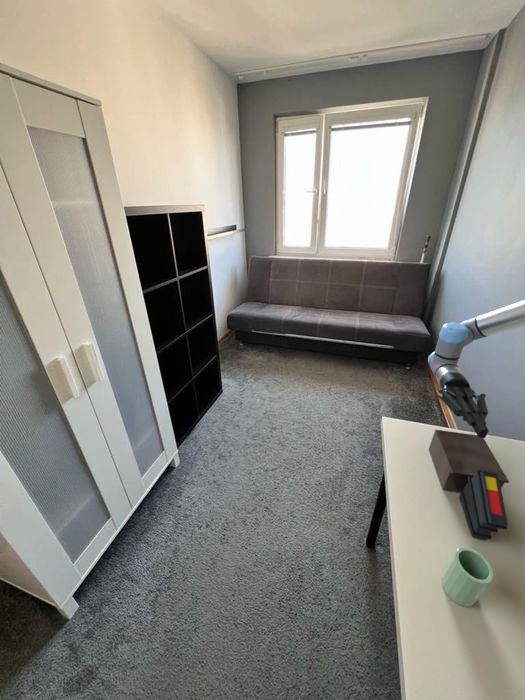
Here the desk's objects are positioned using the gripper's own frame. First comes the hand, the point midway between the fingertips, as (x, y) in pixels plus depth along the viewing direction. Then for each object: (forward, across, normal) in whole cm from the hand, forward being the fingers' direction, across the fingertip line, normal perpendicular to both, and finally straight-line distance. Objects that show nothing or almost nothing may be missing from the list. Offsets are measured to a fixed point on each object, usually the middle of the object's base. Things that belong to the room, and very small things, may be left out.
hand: (483, 433), depth 71 cm
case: (-3, 0, -18) cm, 18 cm away
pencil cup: (+28, +10, -18) cm, 35 cm away
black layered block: (+13, +2, -18) cm, 22 cm away
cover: (-2, 0, -10) cm, 10 cm away
